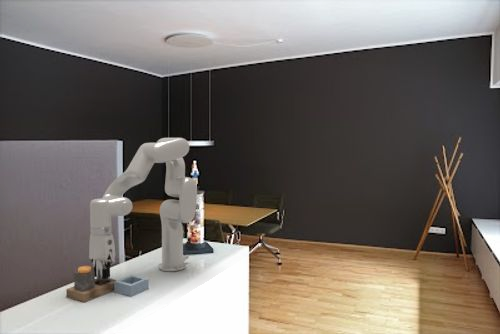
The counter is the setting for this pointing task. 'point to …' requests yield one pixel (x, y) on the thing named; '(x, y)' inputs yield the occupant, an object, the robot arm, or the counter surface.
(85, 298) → the socket block
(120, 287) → the blue-grey square frame
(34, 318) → the counter surface
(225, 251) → the counter surface
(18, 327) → the counter surface
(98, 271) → the grey smooth thick cylinder
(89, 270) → the release button
